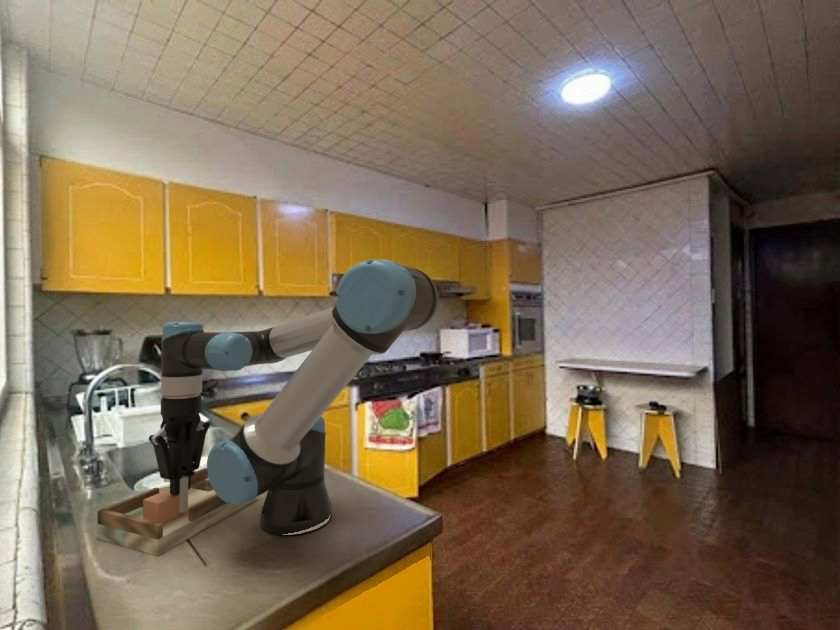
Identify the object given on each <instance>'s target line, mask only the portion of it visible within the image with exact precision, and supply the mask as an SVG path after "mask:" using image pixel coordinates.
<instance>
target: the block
mask: <svg viewBox="0 0 840 630" xmlns="http://www.w3.org/2000/svg"><path fill="white" fill-rule="evenodd" d="M179 496H180V495H176V496H175V495H170V491H164V490H163V491H161V492H159V494H156V495H154V496H151V497H149V498H146V499H144V500H143V519H146V520H150V521H154V522H158V523H162V524H165V523H167V522H169V521H171V520H173V519H175V518H177V517H179Z"/></svg>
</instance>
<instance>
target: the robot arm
mask: <svg viewBox="0 0 840 630" xmlns="http://www.w3.org/2000/svg"><path fill="white" fill-rule="evenodd" d="M335 294H336V295H337V298H336V300H335V306H333V307H330V308H327V309H323V310H320V311H318V312H315V313H311V314H308V315H306V316H302V317H300V318H295V319H293V320H290V321H287V322H284V323H280V324H278V325H275V326H272V327H269V328H267V329H262V330H255V331H252V330H251V331H225V332H224V331H223V332H220V331H219V332H217V331H216V332H214V331H213V332H212V331H210V332H205V331H204V326H203V323H202V322H200V321H198V322H197V321H168V322H166V323H164V324H163V326H162V336H161V341H160V343H161V367H160V368H161V370H160V371H161V376H160V381H161V382H160V383H161V384H160V385H161V387H160V395H162V397H161V399H160V415H161V418H162V421H161V424H160V430H158V431H157V433H155V434H151V435H149V436H148V441H149V442H150V444H151V445H152V446H153V450H154V454H155V458H156V459H155V460H156V464H157V468H158V472H159V476H160V478H161V479H163V480H164V479H169V480H170V482H169V492H170V495H175V496H176V495H180V496H179V510H181V511H182V510H184V509H186V508H188V490H189V489H190V480H191V476H193V475H194V474H195V472H193V471H194V470H195V469H196V471H198V470H199V468H200V465H201V460H202V455H203V451H204V445H205V439H206V435H207V432H208V430H209V428H210V425H211V423H210V422H207V421H203V420H202V419H201V418H202V417H201V415H200V413H201V412H202V410H203V409H202V408H203V405H202V404H203V396H202V395H201V393H202V392H203V370H213V371H220V372H230V371H231V372H232V371H233V372H236V371H240V370H242V369H244V368H245V367H251V366H256V365H257V366H258V365H265V364H267V365H269V364H270V365H271V364H275V363H279V362H282V361H284V360H286V359H287V358H289V357H293V356H296V355H300V354H303V353H307V352H310V353H309V354H308V355H307V356H306V358H305V359H304V360H303V361H302V363H301V364H300V365H299V367H297V369H296V370H295V372H294V373H293V374H292V375H291V377H290V378H289V380H288V381H287V382H286V383H285V385H284V386H283V387H282V388H281V389H280V391H279V392H278V394H277V395H276V396H275V397H274V398H273V400H272V401H271V403H269V405H268V406H267V408H266V409H265V410H264V411H263V413H257V414H253V415H251V416H250V417H249V418H247V420H246V421H245V422H244V424H243V425H242V426H241V427H240V429H239V430H238V431H237V432H236V433H235V435H234V436H233V437H231V438H230V439H224V440H222V441H220V442H218V443H216V444H215V445H214V446H212V448H211V449H210V450H209V453H208V455H207V459H206V468H207V471H208V478H209V481H210V484H211V486H212V488H213V490H214V491H215V493H216V494H217V495H218V496H219V497H220V498H221V499H222V500H223V501H225V502H227V503H231V504H233V505H239V504H243V503H245V502H248V501H252V500H254V499H255V498H256V499H257V497H259V496H261V495H263V494H265V493H266V492H267V493H266V496H265V499H264V502H263V504H262V507H261V510H260V521H259V522H260V527H261V529H262V530H263V531H265V532H266V533H269V534H271V535H277V536H283V535H282V534H288V533H294V532H299V531H302V530H306V529H309V528H311V527H314V526H316V525H318V524H320V523H322V522H324V521H325V520H326V519H328V518H329V516H330V515H331V512H332V513H333V506H332V502H331V499H330V496H329V492H328V489H327V486H326V482H325V464H326V461H325V458H326V457H325V456H326V435H327V431H326V421H325V419H324V417H322V415H324V413H326V411H327V410H328V408H329V407H330V406H331V405H332V404H333V402H334V401H335V400H336V399H337V398H338V396H339V395H340V394H341V393H342V391H344V389H345V388H346V386H347V385H348V384H349V383H351V381H352V379H354V378H355V376H356V375H357V373H358V372H359V371H360V370H361V369H362V367H363V366H364V365H365V364H366V363H367V361H368V360H369V359H370V358H371V357H372V355H383V354H386V352H387V351H388V350H389V349H390V348H391V347H392V346H393V344H394V343H395V342H396V341H397V339H398V338H399V337H400V336H401V335H402V334H403V333H404V332H406V331H413V330H417V329H420V328H423V327H424V326H426V325H427V324H428V323H429V322H430V321H431V320H433V318H434V317H435V316H436V313H437V311H438V306H439V300H440V297H439V292H438V289H437V285H436V284H435V282H434V281H433V279H432V278H431V277H430V276H429V275H428V274H427V273H425V272H424V271H422V270H420V269H417V268H414V267H410V266H405V265H403V264H401V263H399V262H397V261H393V260H389V259H366V260H364V261H360V262H358V263H356V264H355V265H353V266H352V267H350V268H349V269H348V270H347V271H346V272H345V274H343V275H342V277H341V279H340V281H339V283H338V285H337V288H336V292H335ZM166 437H167V438H166ZM166 441H167V442H166ZM168 446H169V448H168ZM193 462H194V463H193Z"/></svg>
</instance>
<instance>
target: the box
mask: <svg viewBox="0 0 840 630" xmlns="http://www.w3.org/2000/svg"><path fill="white" fill-rule="evenodd" d="M159 493H160V488H159V487H154V488H151V489H148V490H146V491H144V492H141V493H139V494H136V495H134V496H132V497H129V498H127V499H124V500H121V501H119V502H117V503H114V504H112V505H109V506H106V507H105V508H102V509H99V510H97V523H96V525H97V527H96V528H97V529H96V530H97V531H96V532H97V533H96V539H97V540H100V541H104V542H108V543H111V544H114V545H117V546H121V547H125V548H127V549H132V550H136V551H138V552H143V553H146V554H148V555H153V556H156V557H159V556H161V554H163V553H165V552H167V551H169V550H170V549H172V548H174V547H177V546H178V545H179V544H181V543H183V542H185V541H186V540H188V539H190V538H192V537H194V536H196V535H198V534H199V533H200V532H202V531H204V530H206V529H208V528H210V527H211V526H213V525H215V524H216V523H218V522H220V521H222V520H223V519H225V518H227V517H229V516H231V515H232V514H233V513H236V512H237V511H239V510H241V509H242V508H244V507H246V506H248V505H250V504H252V503H253V502H255V501H257V497H256V498H255V499H254V500H252V501H248V502H245V503H243V504H239V505H233V504H231V503H227V502H225V501H223V500H222V499H221V498H220V497H219V496H218V495H217V494H216V493H215V491H214V490H213V488H212V486H211V484H210V481H209V478H208V471H207V467H204V468H202V469H197V470H196V472H195V474H194V475H193V476H191V480H190V489H189V490H188V508H186V509H184V510H182V511H181V510H179V517H177V518H175V519H173V520H171V521H169V522H167V523H165V524H162V523H158V522H154V521H150V520H146V519H143V500H144V499H146V498H149V497H151V496H154V495H156V494H159Z"/></svg>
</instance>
